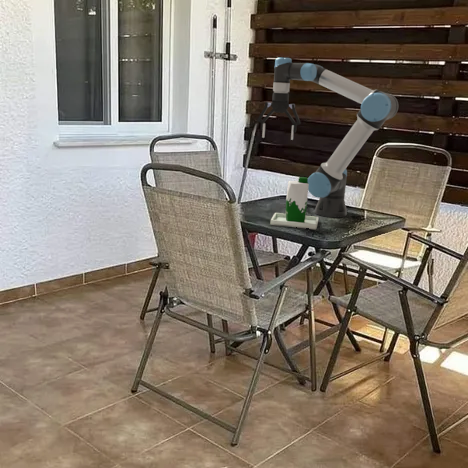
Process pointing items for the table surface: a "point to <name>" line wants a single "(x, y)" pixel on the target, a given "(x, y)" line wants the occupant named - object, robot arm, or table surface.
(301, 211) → the soya milk
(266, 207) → the table surface
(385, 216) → the table surface
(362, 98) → the robot arm
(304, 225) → the tray
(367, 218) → the table surface
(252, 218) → the table surface
